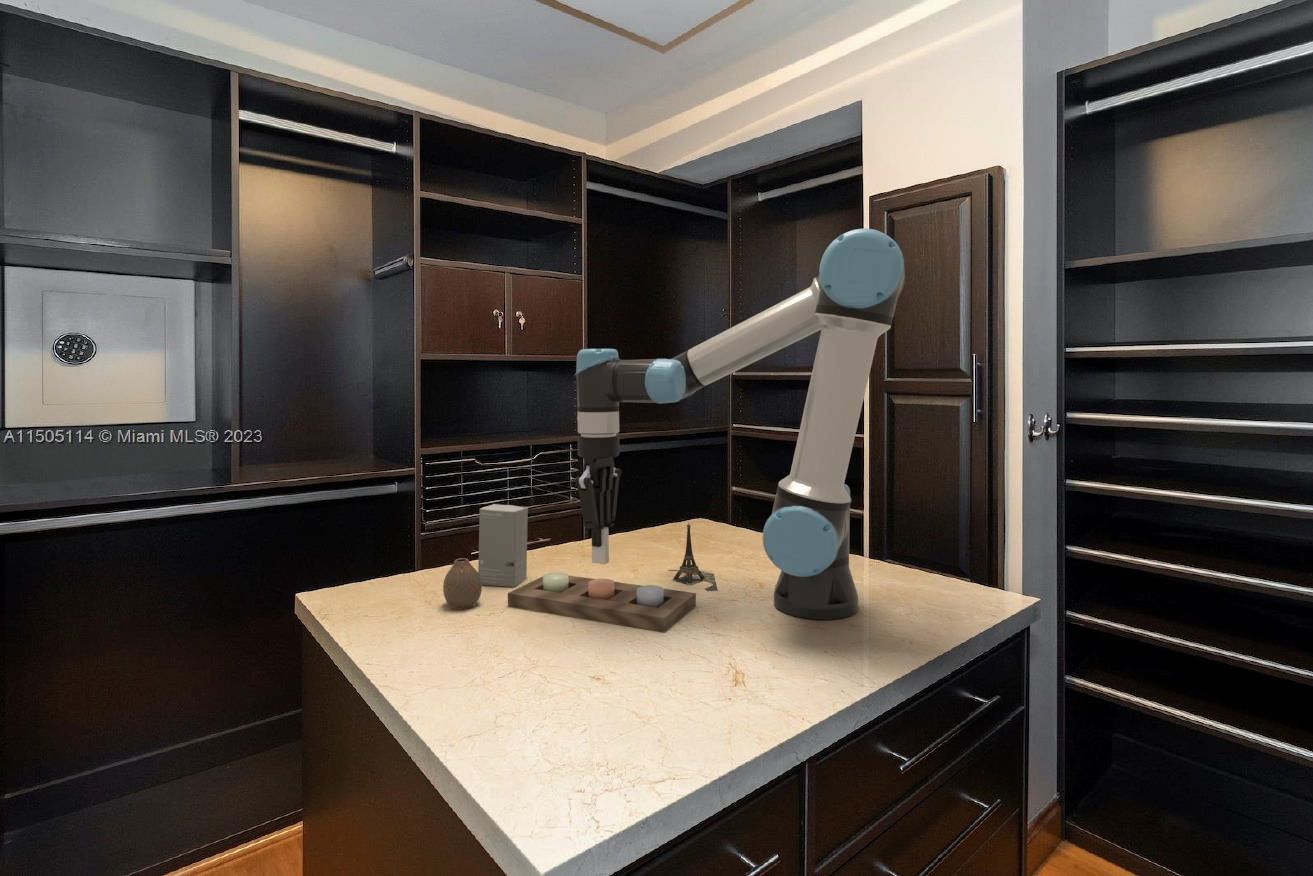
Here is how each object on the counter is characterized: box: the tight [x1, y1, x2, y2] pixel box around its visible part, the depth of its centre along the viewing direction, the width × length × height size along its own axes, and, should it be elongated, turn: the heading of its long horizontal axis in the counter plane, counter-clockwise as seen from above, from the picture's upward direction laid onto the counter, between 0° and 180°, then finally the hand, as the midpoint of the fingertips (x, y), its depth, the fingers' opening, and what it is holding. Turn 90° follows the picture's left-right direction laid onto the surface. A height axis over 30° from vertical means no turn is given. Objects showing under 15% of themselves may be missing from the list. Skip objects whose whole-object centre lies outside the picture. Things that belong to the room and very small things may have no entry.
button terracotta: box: [588, 578, 615, 600], centre depth 128 cm, size 5×5×3 cm
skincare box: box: [477, 503, 529, 588], centre depth 143 cm, size 8×7×16 cm
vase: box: [442, 557, 483, 610], centre depth 129 cm, size 7×7×9 cm
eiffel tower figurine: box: [668, 523, 719, 592], centre depth 143 cm, size 15×10×13 cm
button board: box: [507, 574, 697, 633], centre depth 128 cm, size 32×14×2 cm, turn 65°
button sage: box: [542, 571, 569, 593], centre depth 132 cm, size 5×5×3 cm
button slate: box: [637, 584, 664, 608], centre depth 124 cm, size 5×5×3 cm
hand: (600, 562), depth 128 cm, fingers closed
